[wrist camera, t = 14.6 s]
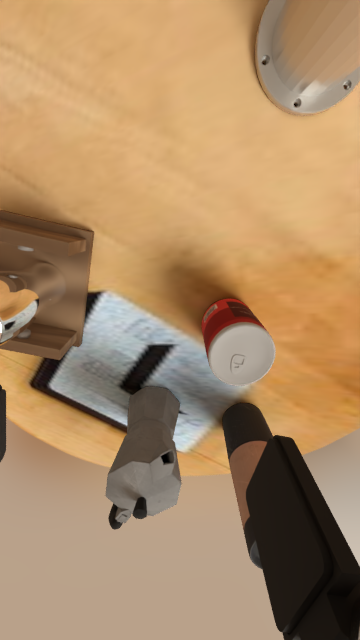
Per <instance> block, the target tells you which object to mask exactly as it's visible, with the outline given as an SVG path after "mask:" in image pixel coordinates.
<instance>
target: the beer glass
mask: <svg viewBox="0 0 360 640" xmlns="http://www.w3.org/2000/svg"><path fill="white" fill-rule="evenodd" d="M65 293H66V281H65V278H64V276H63V274H62V273H61V272H60V271H59V270H58V269H57V268H56V267H55V266H53V265H51V264H49V263H45V262H35V263H32V264H30V265H28V266H27V267H26V268H24V269H23V270H19V271H0V346H1V345H3V344H4V343H6V342H8V341H10V340H11V339H13V338H14V337H16V336H17V335H19V334H20V333H22V332H23V331H24V330H25V329H27V328H28V327H29V326H30V325H31V324H32V323H33V322H34V321H35V319H36V318H37V317H38V316H39V314H40V313H41V312H42V310H43V309H44V308H45V307H47V306H51V305H54V304H56V303H58V302H60V301H61V300H62V299H63V297H64V296H65Z"/></svg>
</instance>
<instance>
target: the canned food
mask: <svg viewBox="0 0 360 640" xmlns="http://www.w3.org/2000/svg"><path fill="white" fill-rule="evenodd" d="M202 333H203V338H204V343H205V348H206V353H207V358H208V362H209V366H210V368H211V370H212V372H213V373H214V375H215V376H216V377H217V378H218V379H219V380H221V381H222V382H224V383H226V384H229V385H234V386H243V385H248V384H251V383H254V382H256V381H258V380H259V379H261V378H262V377H263V376H264V375H265V374H267V372H268V371H269V370H270V368H271V366H272V364H273V362H274V359H275V345H274V342H273V340H272V338H271V336H270V334H269V333H268V332H267V330H266V329H265V328H264V326H263V325H262V324H261V323H260V321H259V320H258V319H257V318H256V316H255V315H254V314H253V313H252V312H251V310H250V309H249V308H248V307H247V306H246V305H245V304H244V303H243V302H241V301H239V300H236V299H222V300H219V301H217V302H215V303H213V304H212V305H211V306H210V307H209V308H208V309H207V310H206V312H205V314H204V316H203V319H202Z"/></svg>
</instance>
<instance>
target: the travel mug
mask: <svg viewBox="0 0 360 640" xmlns="http://www.w3.org/2000/svg"><path fill="white" fill-rule="evenodd" d="M222 422H223V430H224V436H225V441H226V447H227V453H228V459H229V464H230V470H231V474H232V479H233V483H234V488H235V493H236V497H237V502H238V506H239V511H240V516H241V520H242V525H243V529H244V534H245V538H246V543H247V548H248V552H249V556H250V558H251V560H252V562H253V563H254V564H255V565H256V566H257V567H259V568H261V569H262V565H261V561H260V556H259V552H258V548H257V544H256V540H255V535H254V531H253V527H252V523H251V519H250V514H249V510H248V506H247V502H246V489H247V486H248V484H249V482H250V480H251V477H252V475H253V473H254V471H255V468H256V466H257V464H258V462H259V460H260V457H261V455H262V453H263V451H264V448H265V446H266V444H267V442H268V440H269V439H270V438H273V435H272V433H271V431H270V429H269V427H268V425H267V423H266V421H265V419H264V417H263V415H262V413H261V411H260V410H259V409H258V408H257V407H256V406H254V405H252V404H248V403H239V404H236V405H233V406H231V407H230V408H229V409H228V410H227V411H226V412H225V413H224V415H223V420H222Z"/></svg>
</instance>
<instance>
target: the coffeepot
mask: <svg viewBox="0 0 360 640" xmlns="http://www.w3.org/2000/svg"><path fill="white" fill-rule="evenodd" d="M179 408H180V403H179V401H178V400H177V399H176V397H175V396H174V395H173V394H172V393H171V392H170V391H169V390H168V389H165V388H161V387H153V386H152V387H148V386H146V387H144V388H143V389H141V390H139V391H137V392H136V393H135V394H134V395H132V396H130V401H129V409H128V426H127V435H126V436H125V438H124V440H123V442H122V445H121V447H120V449H119V451H118V453H117V456H116V458H115V460H114V462H113V464H112V467H111V469H110V471H109V473H108V478H107V487H106V497H107V498H108V499H110V500H111V501H112V502H113V506H112V509H111V511H110V514H109V523H110V525H111V527H112V529H118V528H120V527H121V525H122V523H123V522H124V523H126V521H127V520H128V519H129V518H130V516H131V513H132V514H133V516H134V517H135V518H138V519H143V518H145V517H146V516H147V515H150V516H154V515H156V514H158V513H160V512H162V511H164V510H166V509H168V508H170V507H172V506H174V505H176V504H177V500H178V496H179V491H180V487H181V477H180V471H179V465H178V459H177V453H176V447H175V442H174V441H173V440H172V439H173V435H174V431H175V426H176V422H177V417H178V413H179Z"/></svg>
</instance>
